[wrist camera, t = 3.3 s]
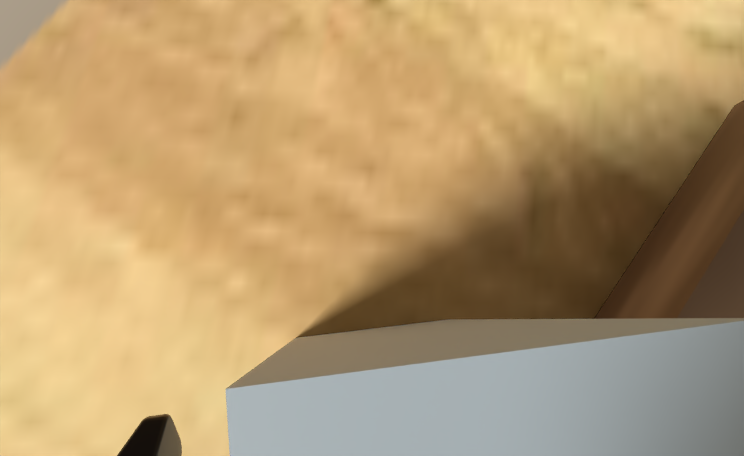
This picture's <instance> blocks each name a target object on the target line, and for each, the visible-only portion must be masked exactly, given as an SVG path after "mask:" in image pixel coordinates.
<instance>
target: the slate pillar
mask: <svg viewBox="0 0 744 456" xmlns="http://www.w3.org/2000/svg"><path fill="white" fill-rule="evenodd" d="M226 402H227V418H228V433H229V449H230V456H744V318H645V319H446V320H438V321H430V322H422V323H413V324H405V325H397V326H389V327H380V328H372V329H364V330H356V331H348V332H339V333H331V334H323V335H315V336H306V337H298V338H295V339H294V340H292V341H291V342H289V343H288V344H287V345H285V346H284V347H283V348H281V349H280V350H278V351H277V352H276V353H274V354H273V355H272V356H270V357H269V358H267V359H266V360H265V361H263V362H262V363H261V364H259V365H258V366H257V367H255V368H254V369H252V370H251V371H250V372H248V373H247V374H246V375H244V376H243V377H241V378H240V379H239V380H237V381H236V382H235V383H233V384H232V385H230V386H229V387H228V388H226Z"/></svg>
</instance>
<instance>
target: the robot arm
mask: <svg viewBox="0 0 744 456" xmlns="http://www.w3.org/2000/svg"><path fill="white" fill-rule="evenodd" d="M181 454H182V447H181V440H180V437H179V435H178V432H177V430H176V427H175V425H174V422H173V420H172V418H171V416H170V415H168V414H163V415H156V416H149V417H146V418H145V419H144V420H143V421H142V422H141V423H140V424H139V426H138V427H137V429H136V430H135V431H134V433H133V434H132V436H131V437H130V438H129V440H128V441H127V443H126V444H125V445H124V447H123V448H122V450H121V451H120V452H119V454H118V455H117V456H181Z"/></svg>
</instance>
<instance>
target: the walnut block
mask: <svg viewBox="0 0 744 456" xmlns="http://www.w3.org/2000/svg"><path fill="white" fill-rule="evenodd" d="M645 318H744V101H743V102H741V103H739V104H737V105H735V106H734V107H733V109H732V110H731V112H730V113H729V115H728V116H727V118H726V119H725V121H724V122H723V124H722V126H721V127H720V129H719V130H718V132H717V133H716V135H715V136H714V138H713V139H712V141H711V142H710V144H709V145H708V147H707V148H706V150H705V151H704V153H703V154H702V156H701V157H700V159H699V160H698V162H697V163H696V165H695V167H694V168H693V170H692V171H691V173H690V174H689V176H688V177H687V179H686V180H685V182H684V183H683V185H682V186H681V188H680V189H679V191H678V192H677V194H676V195H675V197H674V198H673V200H672V201H671V203H670V204H669V206H668V208H667V209H666V211H665V212H664V214H663V215H662V217H661V218H660V220H659V221H658V223H657V224H656V226H655V227H654V229H653V230H652V232H651V233H650V235H649V236H648V238H647V239H646V241H645V242H644V244H643V246H642V247H641V249H640V250H639V252H638V253H637V255H636V256H635V258H634V259H633V261H632V262H631V264H630V265H629V267H628V268H627V270H626V271H625V273H624V274H623V276H622V277H621V279H620V280H619V282H618V283H617V285H616V287H615V288H614V290H613V291H612V293H611V294H610V296H609V297H608V299H607V300H606V302H605V303H604V305H603V306H602V308H601V309H600V311H599V312H598V314H597V315H596V317H595V318H594V319H645Z"/></svg>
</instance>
